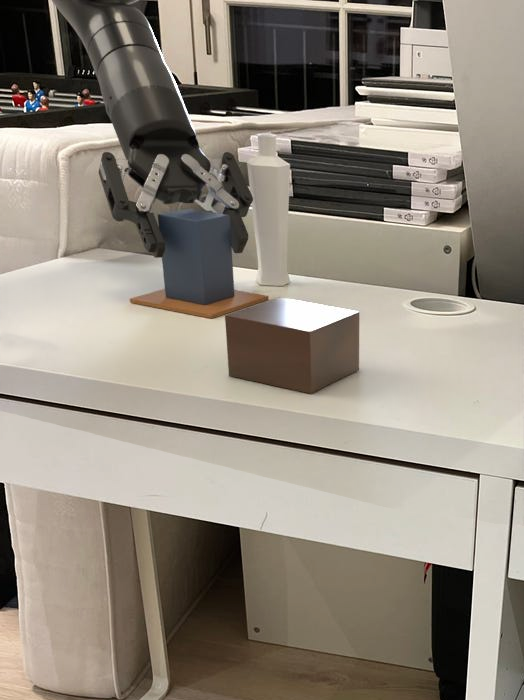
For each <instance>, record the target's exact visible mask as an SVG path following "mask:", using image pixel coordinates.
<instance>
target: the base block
mask: <svg viewBox="0 0 524 700" xmlns="http://www.w3.org/2000/svg"><path fill="white" fill-rule="evenodd" d="M224 322H225V337H226V351H227V354H226V355H227V367H228V369H227V370H228V377H234V378H238V379H242V380H246V381H251V382H255V383H261V384H265V385H268V386H269V385H270V386H274V387H279V388H282V389H283V388H284V389H287V390H293V391H296V392H301V393H306V394H311V395H312V394H314V393H315V392H317V391H319V390H322V389H324V388H325V387H327V386H330V385H331V384H334V383H336V382H338V381H340V380H341V379H344V378H346V377H348V376H350V375H351V374H354V373H356V372H358V371H360V311H357V310H351V309H346V308H340V307H335V306H329V305H324V304H320V303H319V304H318V303H314V302H308V301H303V300H299V299H293V298H288V297H281V296H279V297H275V298H272V299H270V300H269V299H268V300H266V301H263V302H260V303H257V304H254V305H251V306H248V307H245V308H242V309H239V310H236V311H233V312H229V313H226V314H224Z"/></svg>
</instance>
